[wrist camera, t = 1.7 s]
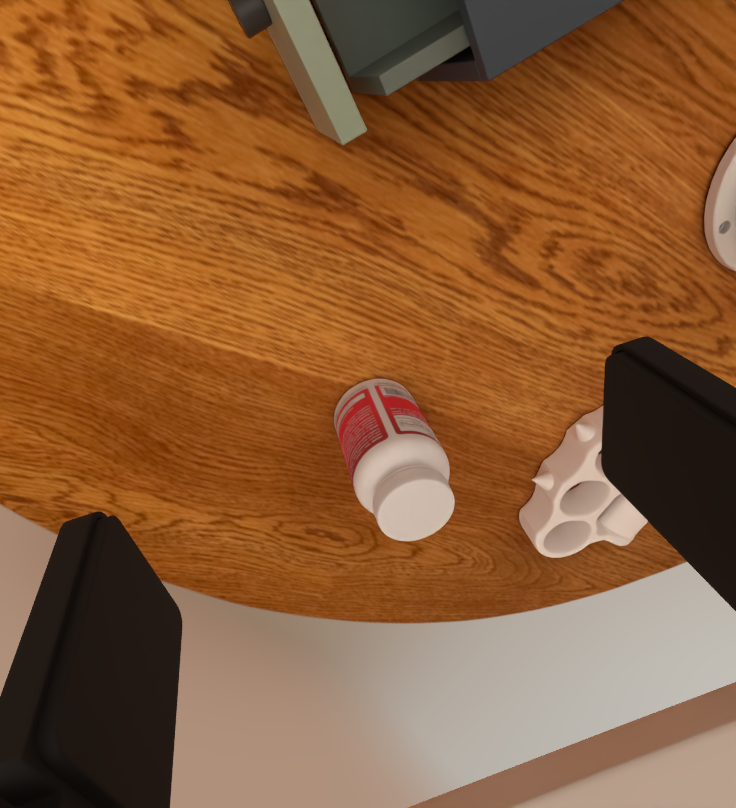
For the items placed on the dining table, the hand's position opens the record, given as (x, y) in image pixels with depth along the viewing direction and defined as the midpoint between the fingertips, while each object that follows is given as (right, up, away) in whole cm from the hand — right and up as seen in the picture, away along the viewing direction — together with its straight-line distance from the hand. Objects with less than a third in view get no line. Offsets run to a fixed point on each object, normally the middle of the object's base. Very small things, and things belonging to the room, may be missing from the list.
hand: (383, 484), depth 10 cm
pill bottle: (0, +1, +30) cm, 30 cm away
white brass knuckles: (+21, -4, +38) cm, 43 cm away
